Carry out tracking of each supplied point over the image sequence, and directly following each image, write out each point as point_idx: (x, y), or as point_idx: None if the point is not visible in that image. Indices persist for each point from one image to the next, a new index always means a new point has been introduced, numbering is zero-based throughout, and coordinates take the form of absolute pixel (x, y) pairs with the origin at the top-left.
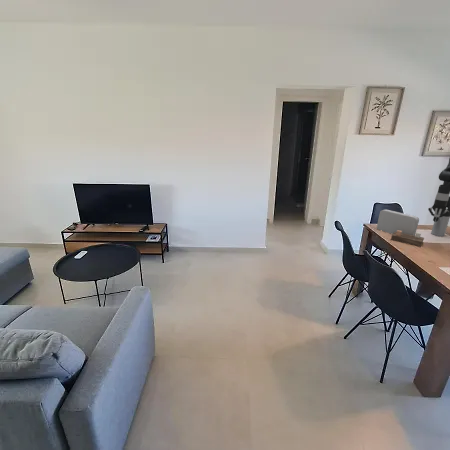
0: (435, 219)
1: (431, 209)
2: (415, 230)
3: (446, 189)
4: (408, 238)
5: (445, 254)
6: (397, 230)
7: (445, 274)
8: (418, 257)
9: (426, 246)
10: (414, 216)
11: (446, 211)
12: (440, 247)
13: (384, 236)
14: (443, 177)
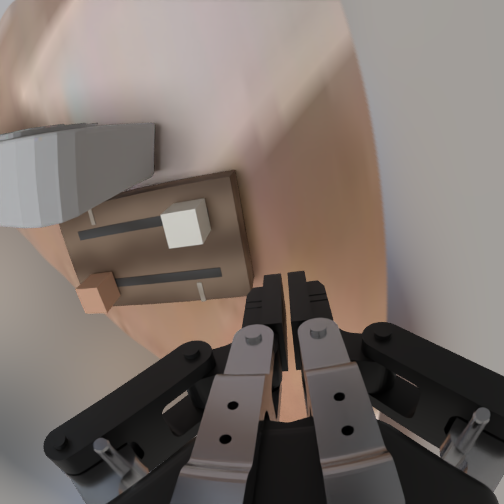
0: (286, 339)
1: (133, 479)
2: (132, 146)
3: None
4: (167, 293)
5: (386, 286)
6: (80, 300)
7: None
8: (287, 405)
9: (278, 236)
10: (8, 165)
11: (477, 460)
12: (351, 177)
13: (62, 262)
14: None
